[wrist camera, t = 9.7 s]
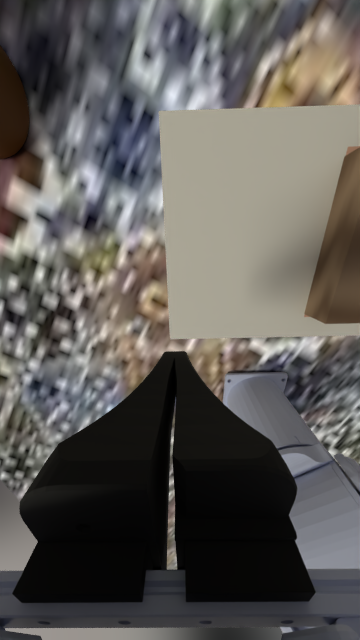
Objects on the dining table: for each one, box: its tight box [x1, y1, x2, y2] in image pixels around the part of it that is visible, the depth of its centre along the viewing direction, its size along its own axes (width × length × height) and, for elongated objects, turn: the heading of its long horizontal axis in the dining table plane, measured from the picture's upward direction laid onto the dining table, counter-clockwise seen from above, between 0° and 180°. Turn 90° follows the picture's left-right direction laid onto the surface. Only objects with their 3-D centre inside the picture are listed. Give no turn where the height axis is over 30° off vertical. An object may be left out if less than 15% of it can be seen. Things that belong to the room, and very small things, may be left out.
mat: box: [159, 105, 360, 339], centre depth 17 cm, size 20×34×1 cm, turn 91°
